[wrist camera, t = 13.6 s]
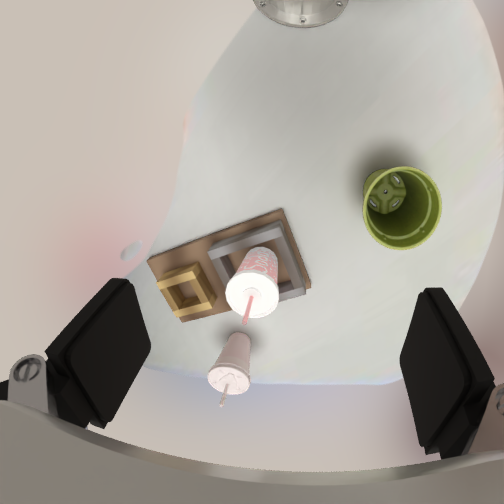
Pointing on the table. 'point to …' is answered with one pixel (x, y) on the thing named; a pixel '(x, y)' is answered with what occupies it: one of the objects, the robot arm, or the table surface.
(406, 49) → the table surface
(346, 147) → the table surface
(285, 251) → the fitting board
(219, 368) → the smoothie
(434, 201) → the plant pot
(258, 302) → the beverage cup
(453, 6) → the table surface
